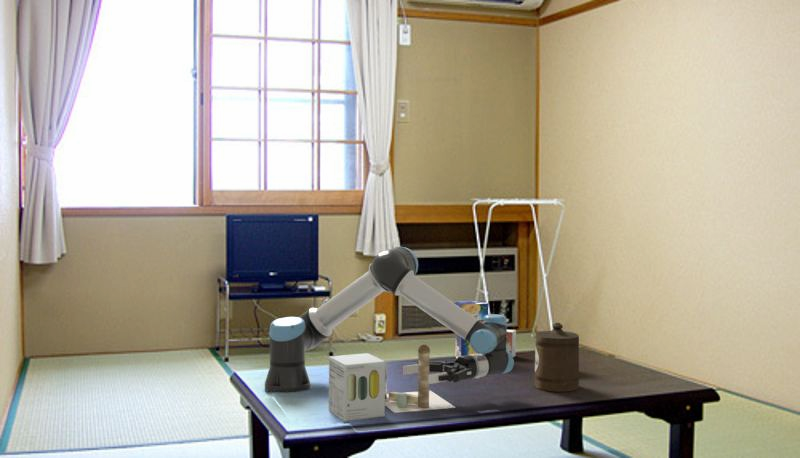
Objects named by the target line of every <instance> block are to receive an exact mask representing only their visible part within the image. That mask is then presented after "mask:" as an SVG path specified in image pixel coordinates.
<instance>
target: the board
mask: <svg viewBox="0 0 800 458" xmlns="http://www.w3.org/2000/svg"><path fill="white" fill-rule="evenodd" d="M404 393H406V394H411V395H418V391H406V392H404ZM387 397H388V398H389V393H387ZM386 407H387V409H389V410H390V411H392V413H393V414H397V413H408V412H409V413H410V412H419V411H420V412H421V411H432V410H444V409H455V408H456V406H455V405H453V404H451V403H450V402H449V401H447V400H446V399H444V398H442V397H441V396H439V395H438V394H436V393H435V392H433V391H432V390H429V408H419V407H418V405H414V404H408V403H407V407H406V408H398V407H397V402H396V401H390V400H389V401H387V402H385V408H386Z"/></svg>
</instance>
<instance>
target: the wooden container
mask: <svg viewBox="0 0 800 458" xmlns="http://www.w3.org/2000/svg"><path fill="white" fill-rule="evenodd" d="M579 335H580V334H578V333H574V332H572V331H571V332H570V331H566V330H565V331H564V330H563V324H561V322H554V323H553V324H552V329H551V330H541V331H538V332H536V333H535V351H534V354H535V355H534V387H535V388H536V389H538V390H541V391H547V392H555V393H565V392H567V393H569V392H573V391H576V390H578V389H579V388H580V386H579V385H580V384H579V383H580V381H579V379H580V350H579V349H580V336H579Z"/></svg>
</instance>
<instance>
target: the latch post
mask: <svg viewBox="0 0 800 458" xmlns="http://www.w3.org/2000/svg"><path fill="white" fill-rule="evenodd" d="M397 407H398V408H406V407H407V394H406V393H405V392H399V393H398V394H397Z"/></svg>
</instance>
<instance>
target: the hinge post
mask: <svg viewBox="0 0 800 458" xmlns="http://www.w3.org/2000/svg"><path fill="white" fill-rule="evenodd" d="M387 394H388V362H387V361H385V402H387V401H389V398H388V397H387Z"/></svg>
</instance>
